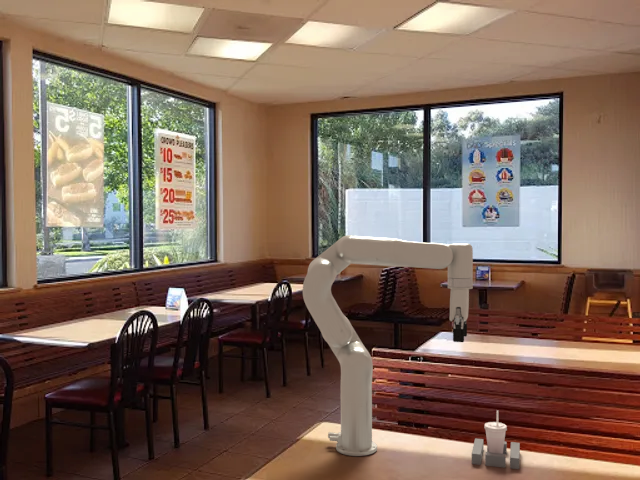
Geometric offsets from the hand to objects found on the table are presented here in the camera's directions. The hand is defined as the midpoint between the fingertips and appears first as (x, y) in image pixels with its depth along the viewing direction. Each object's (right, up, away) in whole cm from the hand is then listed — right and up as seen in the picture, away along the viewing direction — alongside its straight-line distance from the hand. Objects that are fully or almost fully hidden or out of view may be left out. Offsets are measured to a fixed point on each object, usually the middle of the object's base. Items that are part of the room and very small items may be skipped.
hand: (460, 338), depth 191 cm
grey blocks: (+8, -34, -9) cm, 36 cm away
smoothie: (+8, -34, -9) cm, 36 cm away
